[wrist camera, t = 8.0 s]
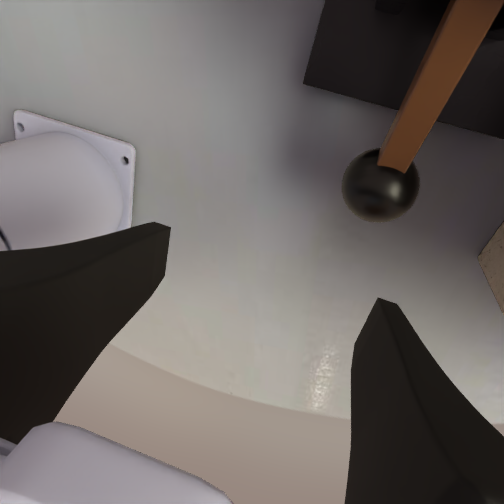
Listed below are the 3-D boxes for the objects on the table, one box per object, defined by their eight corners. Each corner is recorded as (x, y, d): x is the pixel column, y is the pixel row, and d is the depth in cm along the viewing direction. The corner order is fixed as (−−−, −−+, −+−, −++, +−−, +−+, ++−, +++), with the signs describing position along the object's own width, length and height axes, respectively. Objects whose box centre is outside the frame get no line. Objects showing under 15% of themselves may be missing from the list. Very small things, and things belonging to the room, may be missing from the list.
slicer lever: (403, 196, 17) (396, 246, 15) (340, 177, 17) (326, 223, 16) (664, -222, 7) (723, -212, 6) (506, -247, 8) (517, -244, 6)
